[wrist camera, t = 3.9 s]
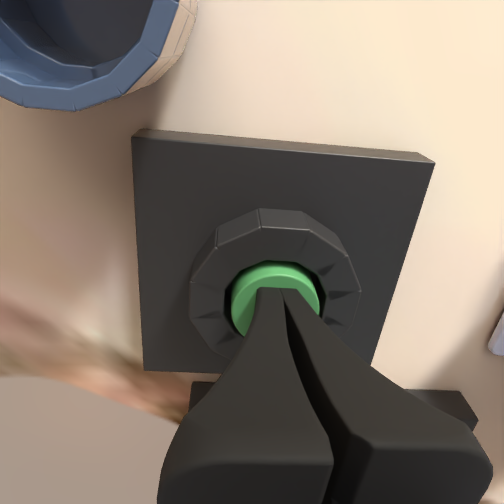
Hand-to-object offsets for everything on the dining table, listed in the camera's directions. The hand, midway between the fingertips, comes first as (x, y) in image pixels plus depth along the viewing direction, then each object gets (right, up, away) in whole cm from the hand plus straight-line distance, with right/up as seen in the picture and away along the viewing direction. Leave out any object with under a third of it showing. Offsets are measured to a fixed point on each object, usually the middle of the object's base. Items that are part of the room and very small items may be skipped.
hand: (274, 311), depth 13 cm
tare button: (0, +1, +1) cm, 1 cm away
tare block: (0, +2, +3) cm, 3 cm away
